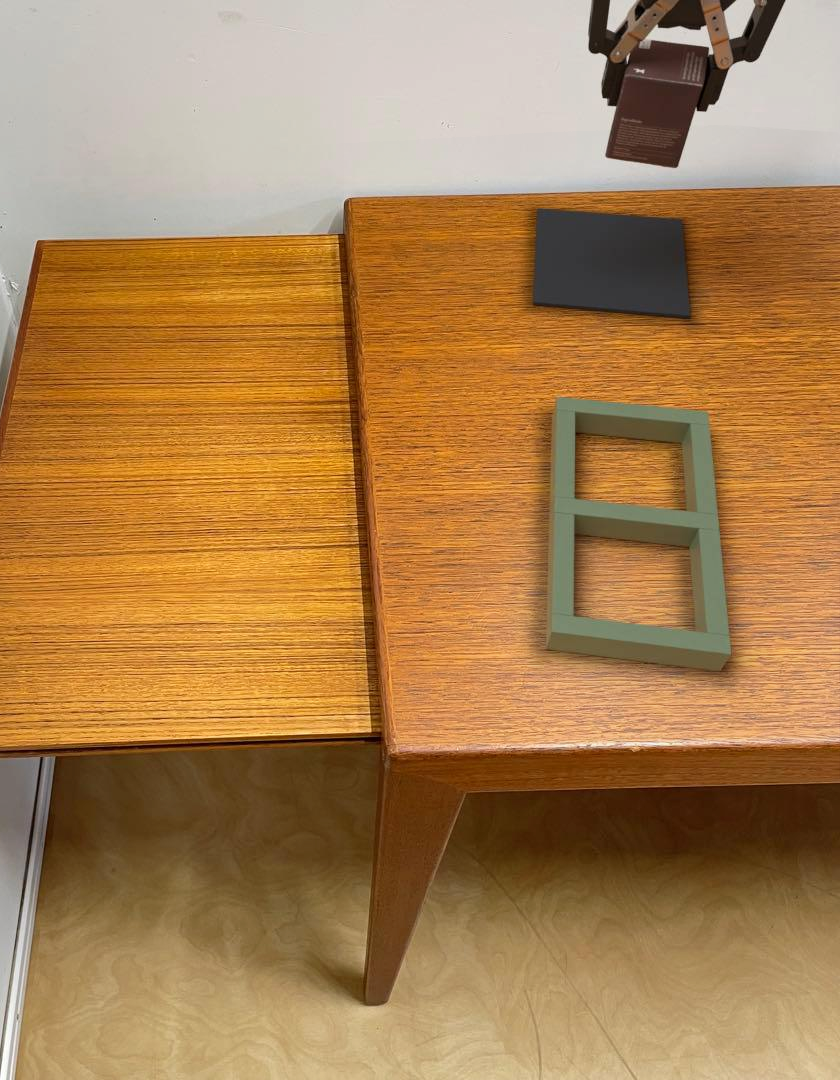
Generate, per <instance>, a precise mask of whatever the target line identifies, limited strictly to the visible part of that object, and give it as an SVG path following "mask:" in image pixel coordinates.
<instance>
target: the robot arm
mask: <svg viewBox="0 0 840 1080" xmlns="http://www.w3.org/2000/svg"><path fill="white" fill-rule="evenodd" d="M736 1H737V0H636V1H635V3H634V4H633V5H632V6H631V7H630V9H629V10H628V12H627V14H626V16H625V18H624V19H623V21H622V22H621V23H620V25H618V27H617V28H616V30H615V31H612V30H610V29H608V21H609V14H610V7H611V6H610V5H611V0H591V1H590V2H591V3H590V12H589V20H588V30H587V31H588V32H587V36H588V44H587V46H588V51H589V53H590V54H592V55H598V54H601V55H603V56H605V57H606V61H605V65H604V69H603V74H602V77H601V78H602V79H601V82H600V86H601V87H600V88H601V97H602V99H606V105H607V107H616V106H617V102H618V99H619V95H620V91H621V87H622V82H623V78H624V74H625V70H626V67H627V62H628V57H629V55H630V52H631V51H632V50H633V49H634V47H635V46H636V45H637V44H638V43H639V42H642V41H643V40H644V39H647V37H648V36H649V35H650V34H651V33H652V31H653V30H654V29H655V27H656V26H657V29H673V28H677V27H678V28H679V27H680V28H683V29H687V30H691V31H701V29H702V28H703V27H706V30H707V33H708V36H709V41H710V45H711V48H712V52H713V53H711V54H710V53H709V56H708V62H707V68H706V74H705V80H704V85H703V88H702V90H701V93H700V97H699V100H698V103H697V106H696V109H695V110H696V112H699V113H700V112H702V113H706V112H707V111H708V109H709V106H715V105H716V104H717V102H718V101H719V100H720V98H721V95H722V94H721V93H722V91H723V87H724V85H725V82H726V79H727V76H728V73H729V70H730V68H731V67H732V66H733V65H735V64H737V63H740V62H744V61H745V62H746V63H754V62H756V61H757V60H758V59H759V58H760V57H761V55H762V52H763V50H764V48H765V46H766V45H767V42H768V41H769V38H770V35H771V33H772V30H773V29H774V27H775V24H776V22H777V20H778V18H779V16H780V14H781V12H782V9H783V7H784V5H785V3H786V0H753V4H754V7H753V9H752V12H751V14H750V16H749V18H748V20H747V23H746V25H745V28H744V30H743V31H742V35H741V36H736V37H734V38H730V34H729V29H728V25H727V20H726V15H725V11H726V10H728V9H729V8H730V7H731V6H732V5H733V4H734V3H735V2H736Z"/></svg>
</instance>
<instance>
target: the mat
mask: <svg viewBox="0 0 840 1080" xmlns="http://www.w3.org/2000/svg"><path fill="white" fill-rule="evenodd" d="M684 238H685V237H684V228H683V219H681V218H669V217H656V216H643V215H632V214H631V215H630V214H629V215H628V214H616V213H605V212H604V213H603V212H591V211H577V210H565V209H551V208H550V209H549V208H537V209H536V225H535V247H534V248H535V249H534V267H533V268H534V271H533V291H532V293H533V294H532V306H538V307H539V306H540V307H551V308H561V309H563V308H564V309H573V310H585V311H597V312H606V313H607V312H608V313H618V314H630V315H641V316H655V317H665V318H675V319H685V320H686V319H687V320H689V319H690V318H691V306H690V296H689V294H690V293H689V283H688V274H687V273H688V271H687V261H686V251H685V239H684Z"/></svg>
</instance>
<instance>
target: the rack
mask: <svg viewBox="0 0 840 1080" xmlns="http://www.w3.org/2000/svg"><path fill="white" fill-rule="evenodd" d="M550 431H551V435H550V437H551V438H550V472H549V473H550V475H549V504H548V505H549V507H548V508H549V509H548V510H549V513H548V542H547V543H548V545H547V546H548V547H547V550H548V551H547V578H546V579H547V582H546V583H547V584H546V586H547V587H546V616H545V617H546V620H545V621H546V623H545V650H550V651H557V652H564V653H565V652H566V653H572V654H579V655H580V654H581V655H588V656H596V657H605V658H611V659H618V660H628V661H633V662H641V663H642V662H643V663H649V664H656V665H657V664H658V665H659V664H660V665H665V666H673V667H681V668H689V669H697V670H704V671H713V672H721V671H722V669H723V668H724V667H725V665H726V663H727V662H728V660H729V659H730V658H731V656H732V646H731V644H732V643H731V635H730V627H729V616H728V605H727V596H726V594H727V593H726V583H725V573H724V564H723V554H722V551H723V550H722V544H721V543H722V541H721V531H720V520H719V511H718V501H717V490H716V479H715V468H714V458H713V457H714V456H713V448H712V437H711V426H710V416H709V411H705V410H696V409H686V408H676V407H667V406H665V407H664V406H656V405H647V404H646V405H645V404H634V403H625V402H615V401H604V400H596V399H585V398H575V397H564V396H557V397H556V399H555V404H554V407H553V411H552V415H551V430H550ZM576 433H577V434H587V435H597V436H609V437H616V438H627V439H637V440H647V441H655V442H664V443H666V442H667V443H675V444H681V452H682V453H681V454H682V455H681V456H682V468H683V469H682V470H683V481H684V482H683V483H684V492H685V495H684V496H685V508H686V509H685V510H680V509H671V508H661V507H654V506H653V507H652V506H644V505H635V504H627V503H625V504H624V503H617V502H608V501H598V500H590V499H580V498H576ZM575 535H579V536H581V535H582V536H589V537H590V536H591V537H597V538H607V539H615V540H625V541H632V542H640V543H641V542H642V543H650V544H651V543H652V544H659V545H667V546H668V545H669V546H678V547H686V548H688V550H689V563H690V576H691V587H692V588H691V590H692V605H693V619H694V630H687V629H681V628H680V629H679V628H671V627H663V626H655V625H647V624H640V623H632V622H623V621H616V620H615V621H614V620H607V619H600V618H592V617H583V616H576V615H575Z"/></svg>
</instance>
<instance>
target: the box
mask: <svg viewBox="0 0 840 1080" xmlns="http://www.w3.org/2000/svg"><path fill="white" fill-rule="evenodd" d="M709 54H710V47H709V46H703V45H695V44H688V43H677V42H670V41H665V40H664V41H662V40H656V39H655V40H654V39H647V38H645V39H644V40H643V41H642V42H639V43H638V44H637V45H636V46H635V47H634V49H633V50H632V51H631V52H630V53H629V55H628V58H627V67H626V70H625V74H624V78H623V82H622V87H621V91H620V95H619V99H618V102H617V106H615V110H614V115H613V119H612V123H611V127H610V131H609V135H608V139H607V145H606V150H605V155H604V156H605V158H606V159H610V160H616V161H623V162H630V163H637V164H645V165H652V166H656V167H657V166H659V167H663V168H669V169H670V168H671V169H677V168H678V167H679V166H680V161H681V159H682V155H683V151H684V148H685V145H686V142H687V140H688V135H689V132H690V129H691V125H692V121H693V118H694V115H695V113H696V110H697V109H696V106H697V103H698V100H699V97H700V93H701V90H702V88H703V85H704V80H705V74H706V68H707V62H708V57H709Z"/></svg>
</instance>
